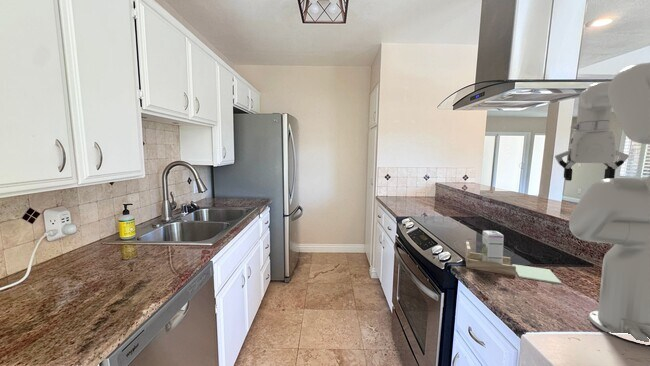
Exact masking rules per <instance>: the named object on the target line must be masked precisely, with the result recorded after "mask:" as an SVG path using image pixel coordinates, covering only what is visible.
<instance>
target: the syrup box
mask: <svg viewBox="0 0 650 366" xmlns="http://www.w3.org/2000/svg"><path fill="white" fill-rule="evenodd" d="M504 237H505V236H504V234H502V233H501V232H499V231H497V230H482V242H481V245H482V246H481V254H482V261H487V262H493V263H500V264H503V257H504V239H505V238H504Z"/></svg>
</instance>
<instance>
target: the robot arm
mask: <svg viewBox="0 0 650 366" xmlns="http://www.w3.org/2000/svg"><path fill="white" fill-rule="evenodd" d="M577 105H578V106H577V117H576V123H575V124H574V125H570V130H571V131H572V130H574V132H573V133H572V135H571V139H570V143H569V147H568V150H567V151H564V152H561V153H559V154H556V155H555V156H554V158H555V160H556V162H557V163H558V164H559V166H561V167H562V168H563V169H564V170H563V179H565V181H568V182H571V181H572V179H573V168H572V167H573V166H575V164H603V165H604V166H605V167H606V168H605V169H604V178H602V179H599V180H597V181H596V182H594V183H592V184H591V185H590V186H589V187H588V189H586V191H585V193H584V194H583V195H582V197H581V199H580V200H579V201H578V203H576V206H575V207H574V208H573V210H572V212H571V214H570V216H569V219H568V227H569V231H570V232H571V235H572V236H574V237H576V238H577V239H579V240H580V241H585V242H590V243H601V244H610V245H613V246H612V247H611V248H610V249H609V250H608V251H606V253H605V254H604V256H603V260H602V268H601V276H600V277H601V280H600V285H599V286H600V288H599V298H598V308H597V309H598V310H593V311H591V312H589V315H588V319H589V321H590V322H591V323H592V324H593V325H594V326H595V327H597V328H598V329H600V330H601V331H603V332H605V333H607V332H611V333H628V334H631V335H632V336H633V337H634V338H635V339H636V340H640V341H644V342H649V339H650V176H646V177H645V176H644V177H637V178H635V177H634V178H633V177H632V178H631V177H630V178H629V177H627V178H626V177H615V174H616V173H615V172H616V169H618V168H619V167H620V166H622V165H623V164H624V162H625V161H627V160H628V158H629V154H626V153H625V152H622V151H619V150H616V138H615V132H614V131H613V130H612V131H610V128H611V119H612V110H613V112H614V114H615V116H616V119H617V120H618V122H619V125H620V127H621V128H622V131H623V132H624V135H625V136H626V137H627V138H628V139H629V140H630V141H631V142H634V143H637V144H643V145H650V62H645V63H644V62H643V63H642V62H641V63H636V64H633V65H629V66H626V67H625V68H623V69H621V70H620V71H619V72H617V73H616V74H615V76H614V77H613V78H612V79H611V81H610V80H609V81H604V82H596V83H592V84H590V85H589V86H588V87H587V88H586V89H585V90H583V91H581V92H580V94H579V96H578V104H577ZM566 156H567V162H565V161H564V160H563V158H564V157H566ZM616 157H618V159H617V160H615V159H616ZM647 337H648V338H649V339H648V338H647Z"/></svg>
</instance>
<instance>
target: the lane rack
mask: <svg viewBox="0 0 650 366" xmlns="http://www.w3.org/2000/svg"><path fill="white" fill-rule="evenodd" d="M470 245H471V244H470V242H469V241H465V254H464V255H465V256H464V257H465V259H464V260H465V265H466V269H473V270H477V271H484V272H489V273H490V272H491V273H494V274H495V273H498V274H501V275H502V274H503V275H510V276H516V274H517V273H516V266H514V265H512V264H511V261H512V259H511V257H509V256H503V264H500V263H493V262H487V261H482V252H481V253H478V252H472V251H471V246H470Z"/></svg>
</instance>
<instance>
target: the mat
mask: <svg viewBox="0 0 650 366" xmlns="http://www.w3.org/2000/svg"><path fill="white" fill-rule="evenodd" d="M511 265H514V266H516V273H515V274H517V276H518V277H519V278H522V279H526V280H533V281H541V282H547V283H553V284H557V285H558V284H560V285H562V281H561V280H560V279H559V278H558V277H557V276H556V275H555V274H554V272H552V270H551V269H548V268H541V267H534V266H528V265H520V264H512V263H511Z"/></svg>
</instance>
